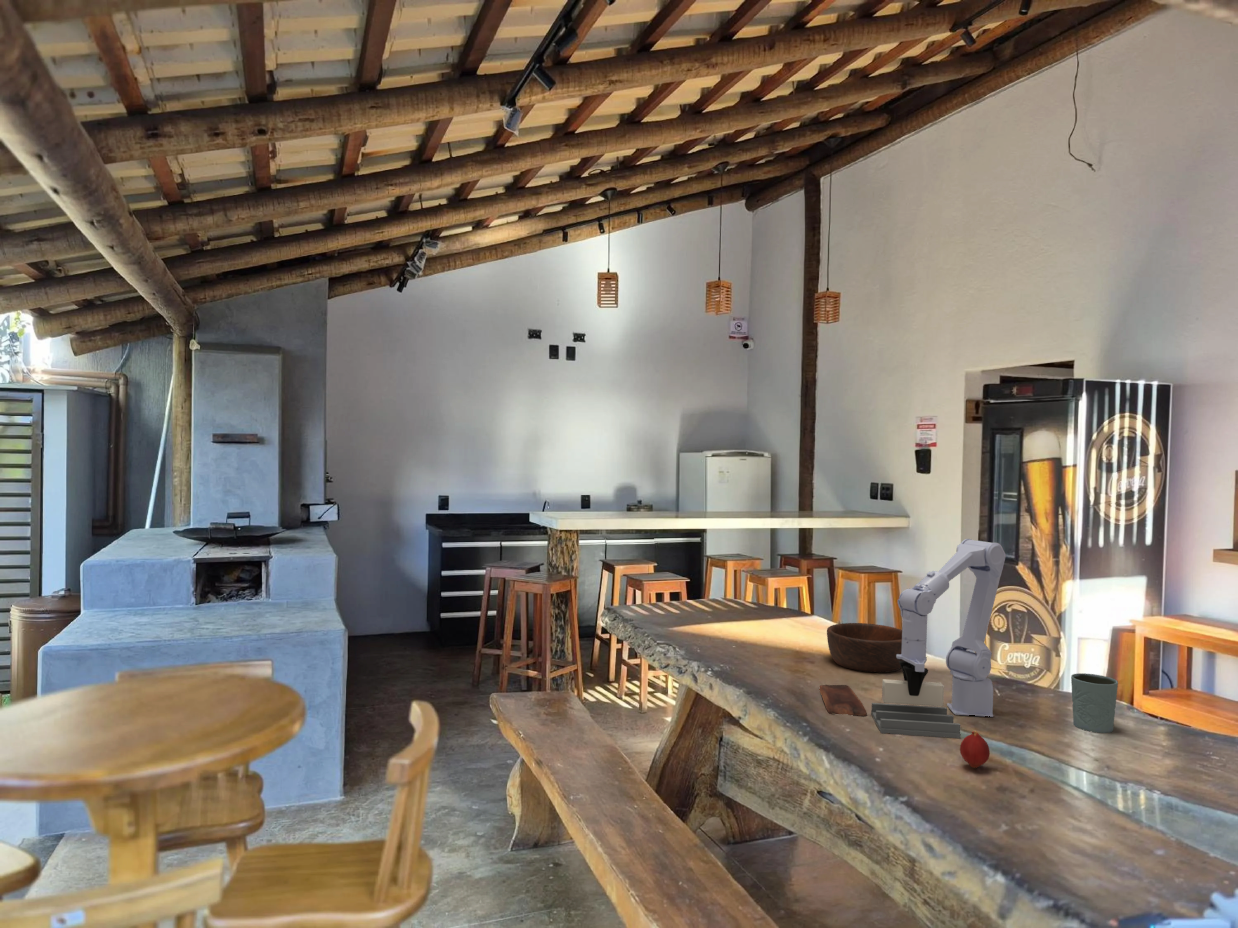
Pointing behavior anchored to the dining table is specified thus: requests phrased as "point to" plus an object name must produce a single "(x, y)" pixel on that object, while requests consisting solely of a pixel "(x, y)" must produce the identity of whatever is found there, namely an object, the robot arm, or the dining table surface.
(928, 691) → the clay bar
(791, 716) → the dining table surface
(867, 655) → the wooden bowl
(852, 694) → the wooden tablet
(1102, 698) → the dark green cup
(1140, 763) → the dining table surface
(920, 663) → the robot arm
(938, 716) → the grooved grey tray
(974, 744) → the onion
